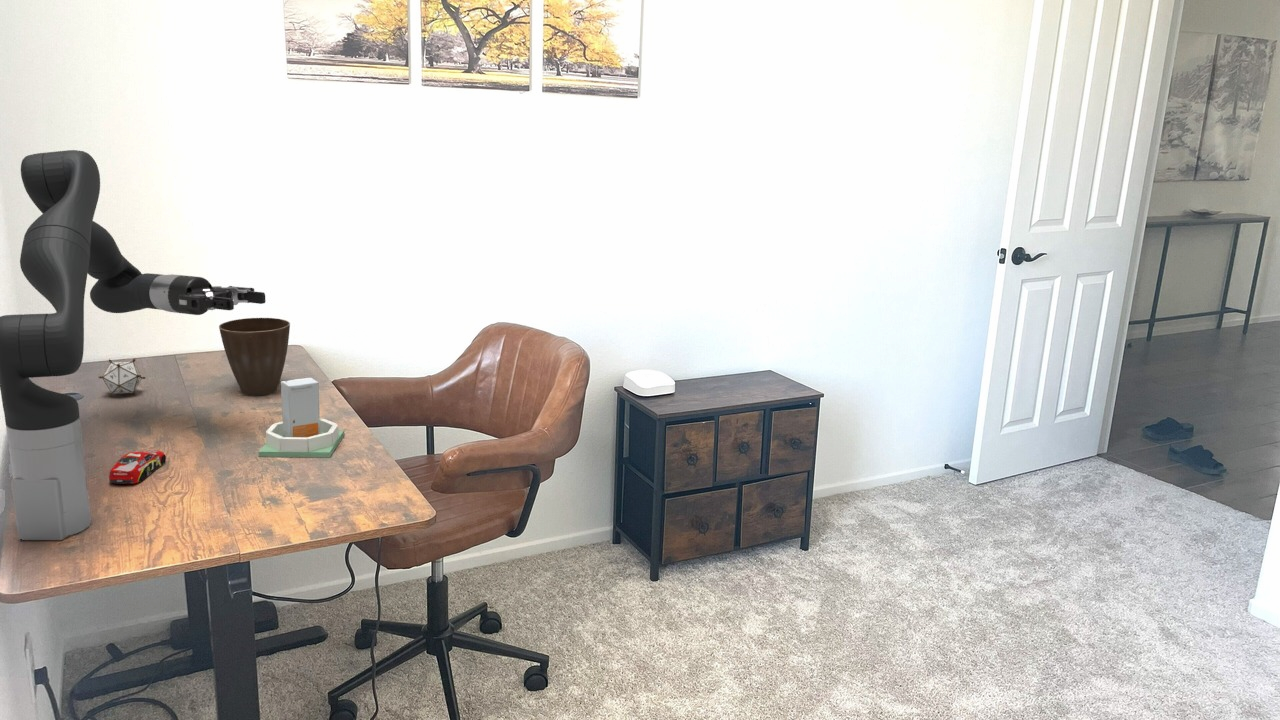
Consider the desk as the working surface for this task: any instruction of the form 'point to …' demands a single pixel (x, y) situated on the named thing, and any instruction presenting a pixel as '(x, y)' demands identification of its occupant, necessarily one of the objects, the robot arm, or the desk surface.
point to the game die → (122, 377)
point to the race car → (136, 466)
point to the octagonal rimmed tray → (302, 442)
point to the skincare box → (300, 407)
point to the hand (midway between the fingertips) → (248, 301)
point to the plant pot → (256, 352)
